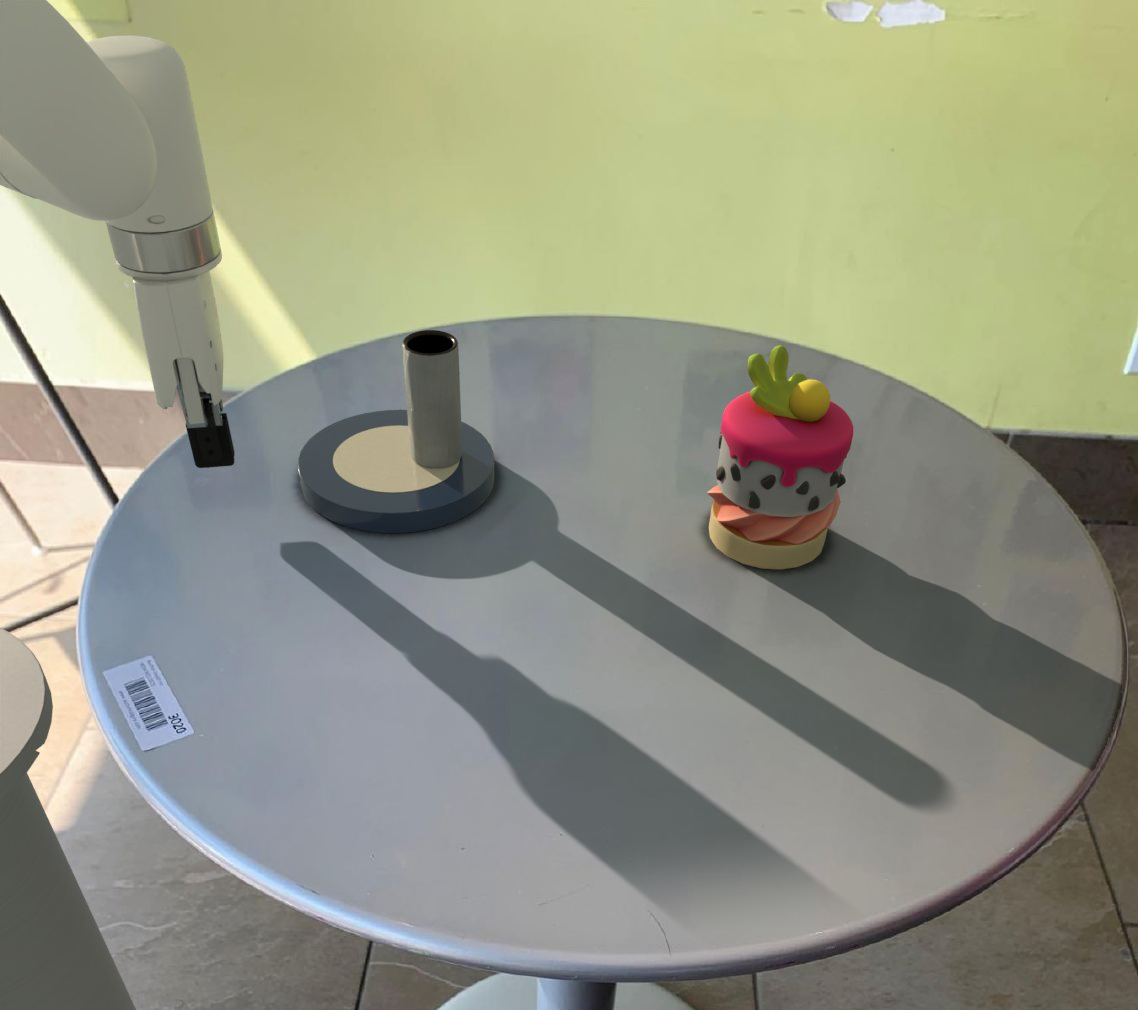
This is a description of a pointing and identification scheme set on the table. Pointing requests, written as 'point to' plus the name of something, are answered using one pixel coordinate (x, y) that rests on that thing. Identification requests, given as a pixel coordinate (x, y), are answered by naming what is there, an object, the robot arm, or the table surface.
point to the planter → (433, 397)
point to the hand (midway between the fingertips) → (215, 461)
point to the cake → (778, 468)
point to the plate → (390, 476)
